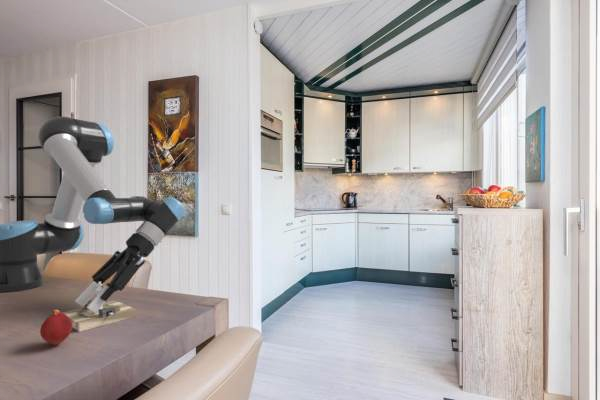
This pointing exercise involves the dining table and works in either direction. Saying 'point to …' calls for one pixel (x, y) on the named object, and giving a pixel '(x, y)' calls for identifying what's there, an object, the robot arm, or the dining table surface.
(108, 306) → the socket plate
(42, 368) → the dining table surface
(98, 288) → the chess piece
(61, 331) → the onion
